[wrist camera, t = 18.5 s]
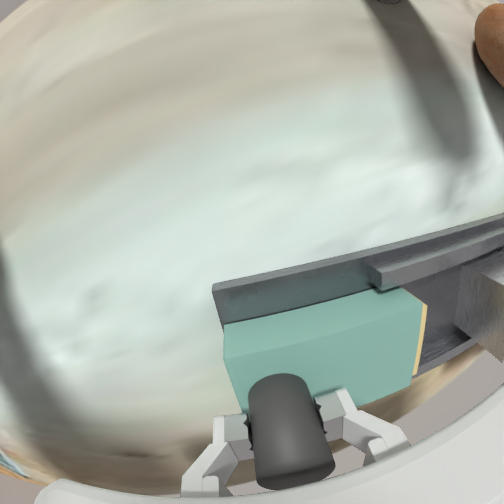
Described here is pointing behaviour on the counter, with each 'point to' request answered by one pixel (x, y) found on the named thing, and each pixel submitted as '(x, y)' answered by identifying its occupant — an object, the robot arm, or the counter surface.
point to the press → (376, 283)
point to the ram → (318, 373)
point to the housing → (483, 302)
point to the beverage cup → (389, 1)
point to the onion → (491, 40)
